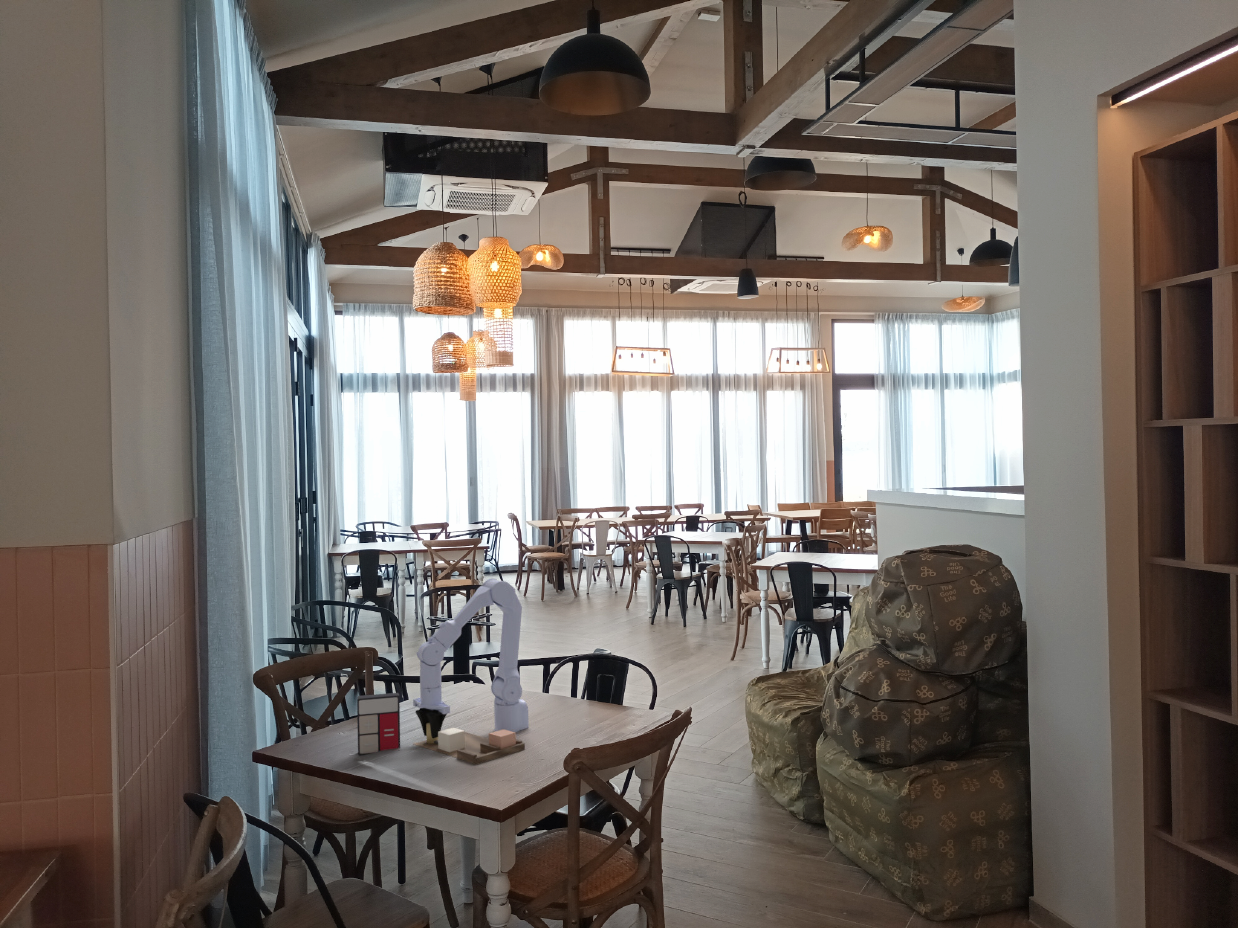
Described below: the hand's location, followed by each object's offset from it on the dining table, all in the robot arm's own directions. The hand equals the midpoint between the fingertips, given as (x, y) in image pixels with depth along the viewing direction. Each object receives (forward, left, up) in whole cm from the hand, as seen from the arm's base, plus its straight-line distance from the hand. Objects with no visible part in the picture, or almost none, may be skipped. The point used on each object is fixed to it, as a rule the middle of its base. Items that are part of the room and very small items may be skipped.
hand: (431, 735), depth 240 cm
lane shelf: (-4, +11, -3) cm, 12 cm away
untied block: (-8, +21, -2) cm, 23 cm away
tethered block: (0, +5, -2) cm, 5 cm away
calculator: (+12, -7, -3) cm, 14 cm away
